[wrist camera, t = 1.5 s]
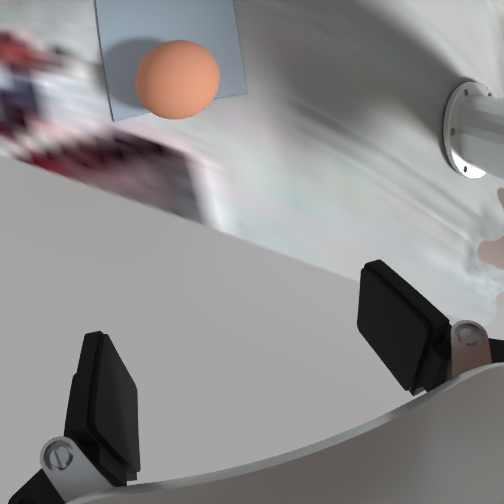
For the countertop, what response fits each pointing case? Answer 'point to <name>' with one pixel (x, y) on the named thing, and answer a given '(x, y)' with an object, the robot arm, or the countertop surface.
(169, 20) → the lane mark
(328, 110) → the countertop surface
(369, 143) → the countertop surface
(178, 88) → the ball
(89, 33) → the countertop surface
